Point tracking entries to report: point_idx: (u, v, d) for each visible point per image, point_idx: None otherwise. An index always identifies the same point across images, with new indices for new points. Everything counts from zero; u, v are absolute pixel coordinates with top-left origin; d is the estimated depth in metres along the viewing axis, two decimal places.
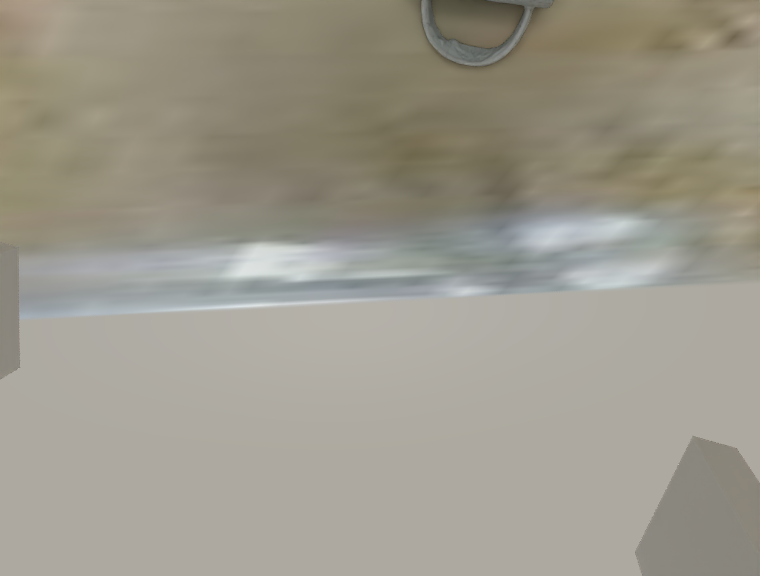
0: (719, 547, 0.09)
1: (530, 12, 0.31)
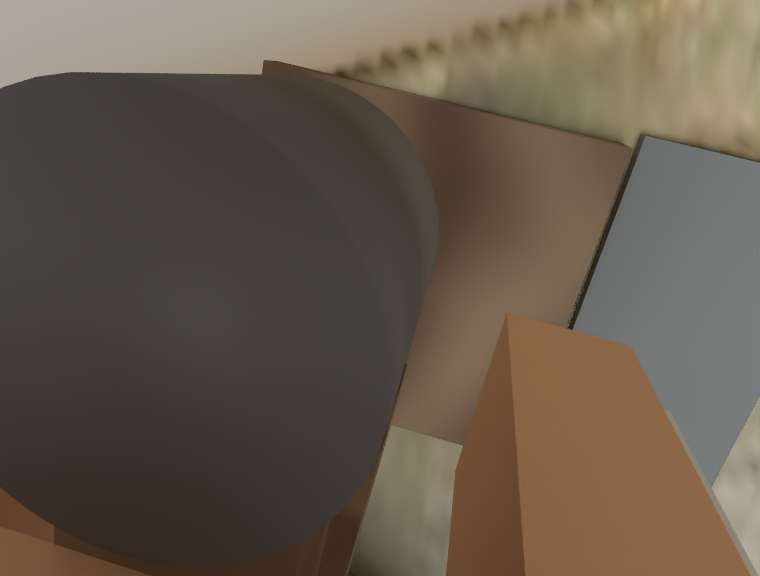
0: None
1: None
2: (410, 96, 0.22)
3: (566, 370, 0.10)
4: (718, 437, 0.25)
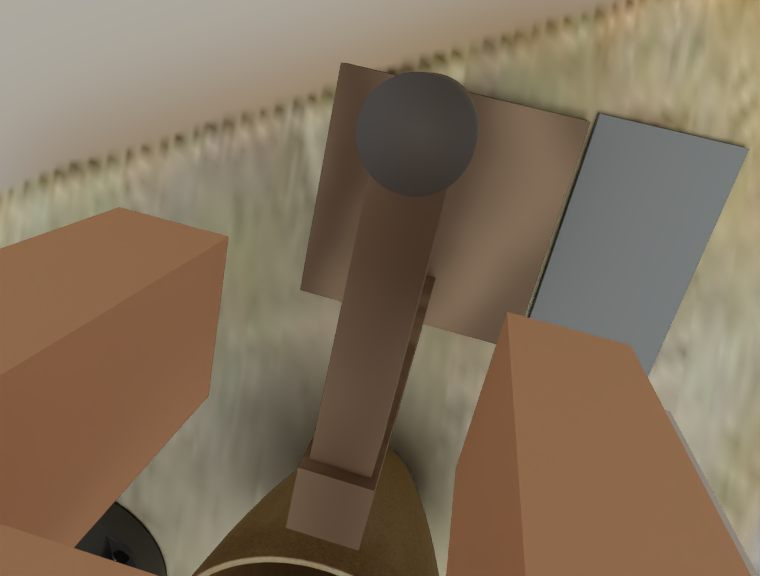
0: None
1: None
2: None
3: (566, 369, 0.10)
4: (656, 328, 0.36)
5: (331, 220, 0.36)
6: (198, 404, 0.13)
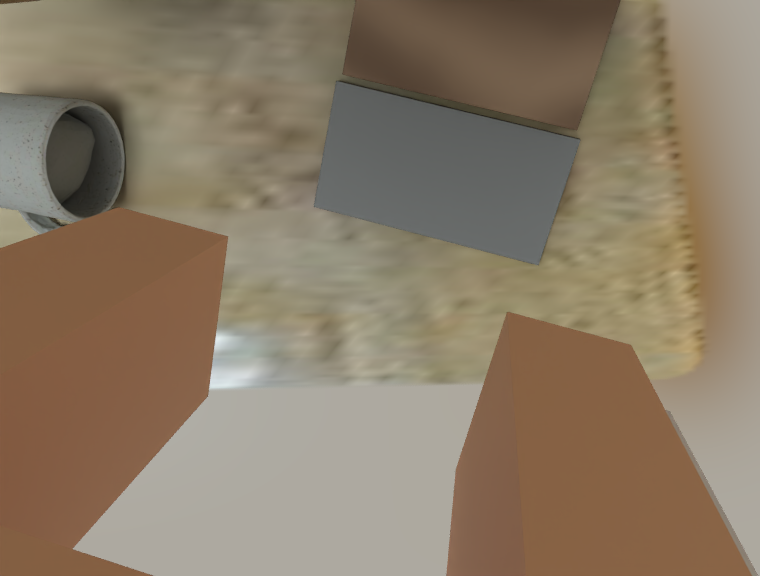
0: None
1: None
2: None
3: (567, 370, 0.10)
4: (372, 211, 0.38)
5: None
6: (198, 404, 0.13)
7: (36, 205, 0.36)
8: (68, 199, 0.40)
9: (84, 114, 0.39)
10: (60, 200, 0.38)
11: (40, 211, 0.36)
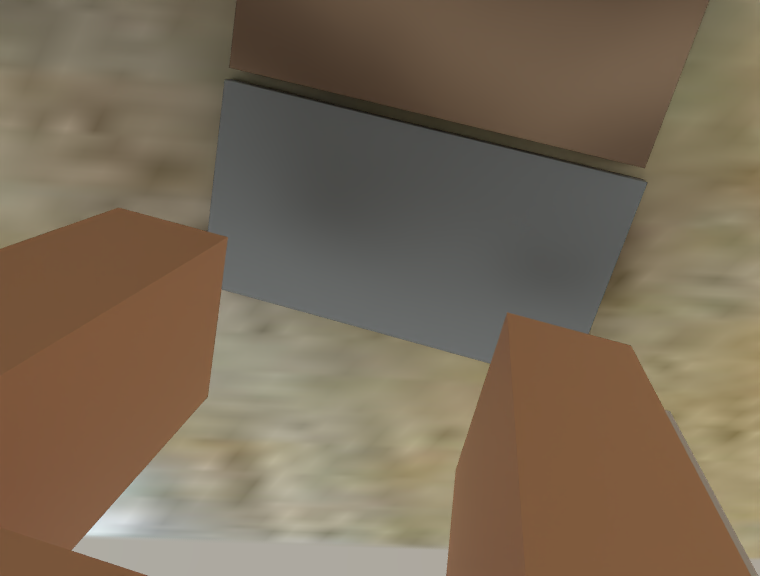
0: None
1: None
2: None
3: (567, 370, 0.10)
4: (295, 293, 0.23)
5: None
6: (197, 405, 0.13)
7: None
8: None
9: None
10: None
11: None
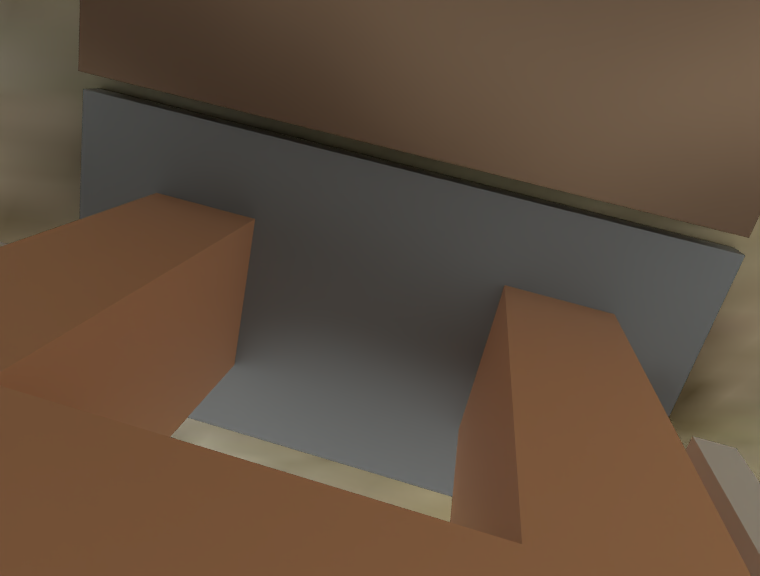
0: None
1: None
2: None
3: (556, 331, 0.11)
4: (207, 401, 0.16)
5: None
6: (226, 371, 0.15)
7: None
8: None
9: None
10: None
11: None
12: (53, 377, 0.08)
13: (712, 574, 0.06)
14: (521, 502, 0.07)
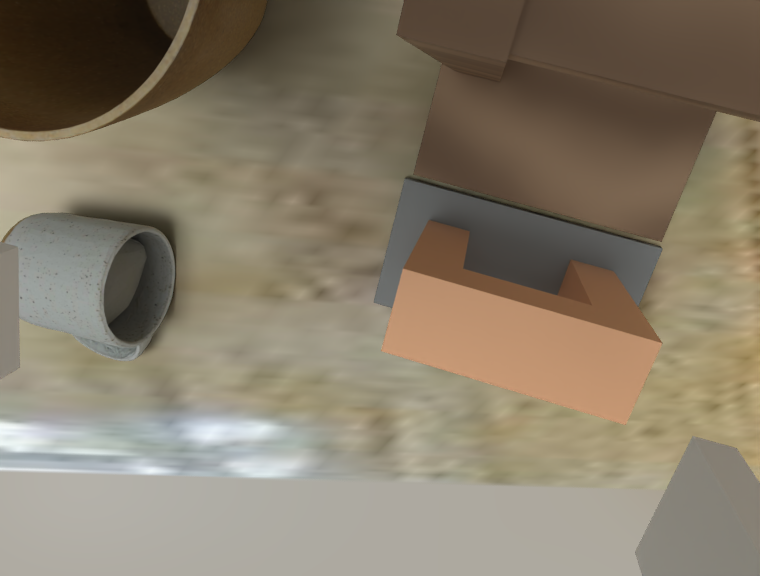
0: (718, 548, 0.09)
1: None
2: None
3: (592, 273, 0.32)
4: None
5: None
6: None
7: (89, 335, 0.34)
8: None
9: None
10: (110, 322, 0.37)
11: (92, 339, 0.35)
12: None
13: (635, 314, 0.27)
14: (590, 300, 0.27)
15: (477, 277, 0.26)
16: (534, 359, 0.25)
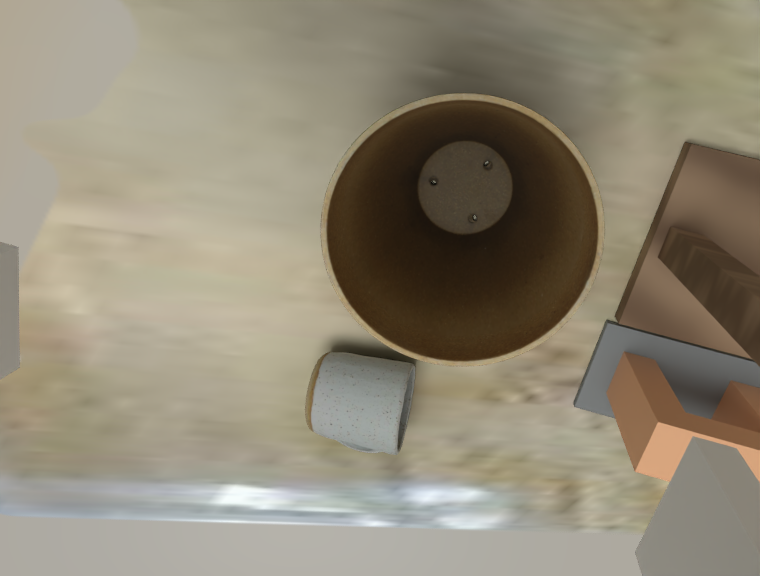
0: (719, 547, 0.09)
1: None
2: None
3: (753, 396, 0.45)
4: None
5: (758, 178, 0.41)
6: None
7: (377, 448, 0.47)
8: None
9: None
10: None
11: (375, 449, 0.48)
12: None
13: None
14: None
15: (699, 421, 0.39)
16: None
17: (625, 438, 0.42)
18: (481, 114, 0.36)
